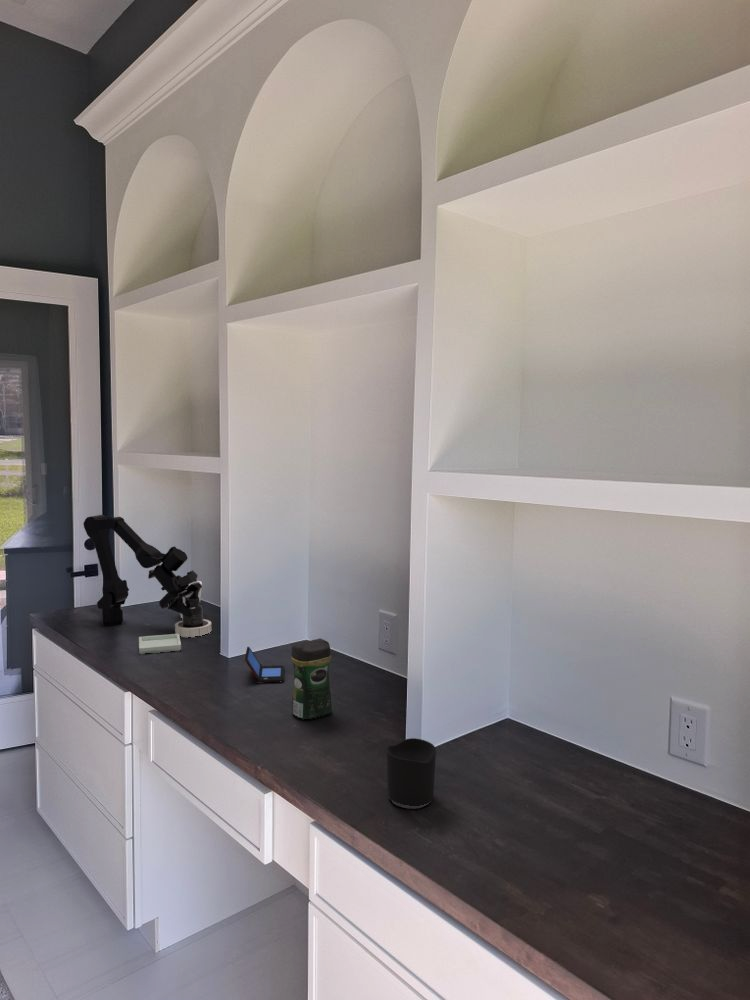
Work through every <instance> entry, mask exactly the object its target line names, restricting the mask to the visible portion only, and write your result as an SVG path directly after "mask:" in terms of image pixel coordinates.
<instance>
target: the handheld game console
mask: <svg viewBox="0 0 750 1000" xmlns="http://www.w3.org/2000/svg"><path fill="white" fill-rule="evenodd" d="M244 661H245V663H246V665H247V667H248V668H249V669H250V671H251V672H252V674H253V676H254V677H255V679H256V683H257V682H280V681H283V682H284V680H285V665H262V663H260V661H259V660H258V658H257V657H256V655H255V653H254V652H253V651H252V649H251V647H250V646H247V647H246V650H245V654H244Z"/></svg>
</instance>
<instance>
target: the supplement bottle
mask: <svg viewBox="0 0 750 1000" xmlns="http://www.w3.org/2000/svg"><path fill="white" fill-rule="evenodd" d="M199 603H201V600H200V601H199V597H187V598H185V604H186V605H185V606H186V607H187V608H188V610H189V611H190V613H191V615H192V616H191V617H187V616H185V615H183V614H182V615H183V619H182V621H183V628H197V627H202V626H203V619H204V613H203V612H204V608H203V606H202V604H201V605H199Z"/></svg>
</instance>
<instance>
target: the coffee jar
mask: <svg viewBox="0 0 750 1000" xmlns="http://www.w3.org/2000/svg"><path fill="white" fill-rule="evenodd" d="M331 652H332V651H331V645H330V643H329V641H327V640H326V639H324V638H321V637H319V638H317V639H312V640H307V641H302V642H295V643H293V644H292V645H291V653H290V654H291V658H290V660H291V662H292V665H293V675H294V676H293V686H292V687H293V689H292V691H293V692H292V701H291V712H292V714H293V716H294V715H295V716H297V717H299V718H303V719H302V720H304V719H310V718H315V717H319V718H321V717H320V716H322V717H325V716H328V715H330V714H331V713H332V711H333V710H332V709H333V708H332V707H333V704H332V703H333V702H332V694H331V686H330V673H329V671H330V670H329V667H330V663H331V658H332V653H331ZM329 713H330V714H329ZM327 714H328V715H327ZM324 715H325V716H324ZM295 716H294V717H295ZM297 717H296V718H297ZM299 718H298V719H299ZM315 719H316V718H315Z"/></svg>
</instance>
